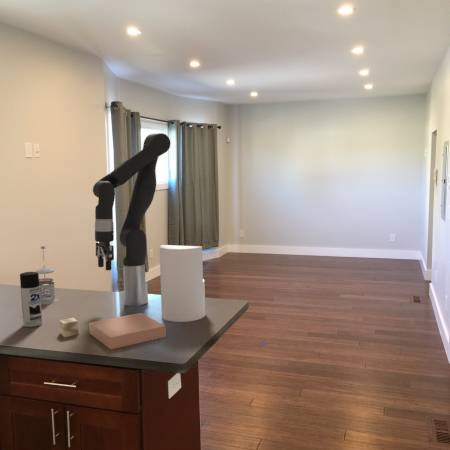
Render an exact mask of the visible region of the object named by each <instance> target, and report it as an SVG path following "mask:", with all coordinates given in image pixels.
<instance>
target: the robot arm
mask: <svg viewBox="0 0 450 450" xmlns="http://www.w3.org/2000/svg"><path fill="white" fill-rule="evenodd" d="M142 145H143V146H142V149H141V150H140V151H139V152H137V153H136V154H134V155H132V156H131V157H129V158H128V159H126V160H124V161H123V162H122V163H120V164H119V165H118V166H117V167H115V168H114V169H113V170H112V171H110V173H108V174H106V175H105V176H103V177H102V178H101V179H98V181H97V182H95V183H94V184H93V186H92V187H93V188H92V192H93V195H94V196H95V197H97V198H98V201H97V205H96V206H95V208H94V209H95V210H94V212H95V214H94V215H95V217H94V218H95V221H94V241H95V257H96V258H97V267H98V268H104V267H105V271H111V270H112V261H114V260H115V256H114V255H115V254H114V253H115V251H114V245H113V244H112V245H111V242H114V240H115V237H114V232H115V231H114V229H115V228H114V214H113V213H114V210H113V207H114V203H115V198H116V188H118V187H120V186H123V185H124V184H126V183H127V182H128V181H129V180H130V179H132V177H134V176H135V175H136V174H137V175H136V179H135V183H134V185H133V190H132V194H131V197H130V202H129V205H128V210H127V213H126V216H125V219H124V222H123V225H122V227H121V230H120V233H119V242H120V244H121V245H122V246H123V247H125V257H123V258H122V267H123V270H122V271H123V293H124V306H128V307H138V306H143V305H146V304H148V303H149V294H148V291H149V290H148V281H147V280H146V262H145V261H146V259H147V236H146V233H145V231H144V230H143V229H141V225H142V221H143V218H144V216H145V214H146V213H147V212H148V210H149V207H150V206H151V205H152V203H153V200H154V197H155V193H156V189H157V173H156V171H157V170H156V168H157V163H158V160H159V157H160V156H162V155H164V154H165V153H167V152H169V149H170V148H171V139H170V137H169V135H167V133H166V134H165V133H163V132H156V133H150V134H149V135H147V136H146V137H145V139H144V141H143V144H142ZM104 260H105V262H104ZM104 263H105V264H104ZM104 265H105V266H104Z"/></svg>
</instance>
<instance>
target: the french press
mask: <svg viewBox="0 0 450 450" xmlns="http://www.w3.org/2000/svg"><path fill="white" fill-rule="evenodd" d="M40 249H41V250H42V254H43V255H42V259H43V260H45V256H44V255H45V253H44V250H45V249H46V247H45V245H43V246H40ZM54 271H55V269H52V268H50V267H46V266H43V267H40V268H38V269H36V270H35V271H34V272H38V274H40V275H43V274H44V278H39V286H40V300H41V305H49V304H54V303H56V302H58V298H56V292H55V289H56V287H55V282H54V279H53V278H51V277H48V278H46V275H47V274H51V273H54Z"/></svg>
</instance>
